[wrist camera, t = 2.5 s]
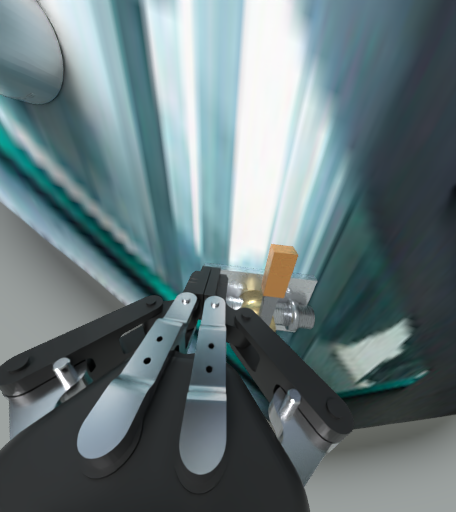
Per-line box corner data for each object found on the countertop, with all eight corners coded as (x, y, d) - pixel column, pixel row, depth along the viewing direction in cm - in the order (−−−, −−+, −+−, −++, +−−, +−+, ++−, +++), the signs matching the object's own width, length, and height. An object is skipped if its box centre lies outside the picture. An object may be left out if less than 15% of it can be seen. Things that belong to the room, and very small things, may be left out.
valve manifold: (204, 262, 28) (193, 295, 21) (313, 275, 28) (338, 312, 21) (202, 314, 34) (192, 354, 27) (293, 325, 34) (307, 367, 27)
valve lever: (263, 342, 24) (265, 355, 23) (247, 340, 24) (247, 353, 23) (293, 246, 17) (299, 255, 15) (270, 243, 17) (273, 252, 16)
